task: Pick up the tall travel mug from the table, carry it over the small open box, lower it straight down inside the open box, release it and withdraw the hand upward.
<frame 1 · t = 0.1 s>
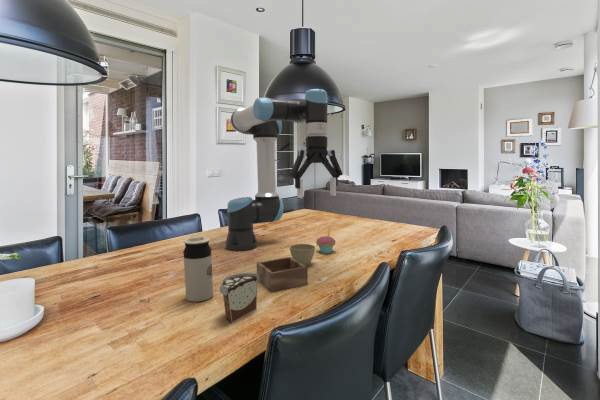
hand: (317, 196, 117), 28 cm above the table, tool pointing down, fingers open, 13 cm apart
flower pot: (302, 264, 131), on the table
cupcake: (325, 252, 147), on the table
open box: (281, 281, 112), on the table
travel mug: (199, 297, 101), on the table
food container: (236, 314, 90), on the table
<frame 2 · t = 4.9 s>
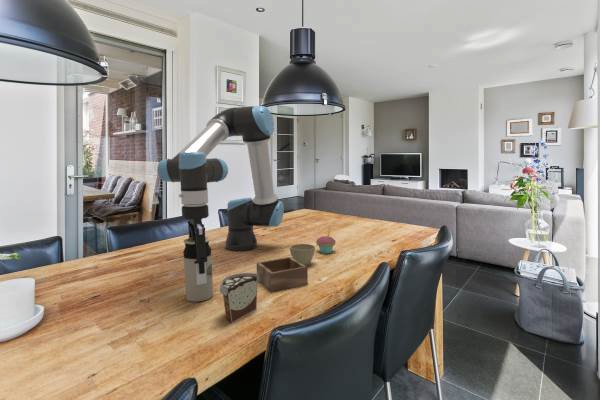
hand: (198, 278, 100), 6 cm above the table, tool pointing down, fingers closed on travel mug, 8 cm apart
travel mug: (199, 297, 101), on the table, touching gripper
everything else where it was.
when the fingers open (9 cm above the table, at t = 12.6 s): travel mug drops 2 cm, resting on open box.
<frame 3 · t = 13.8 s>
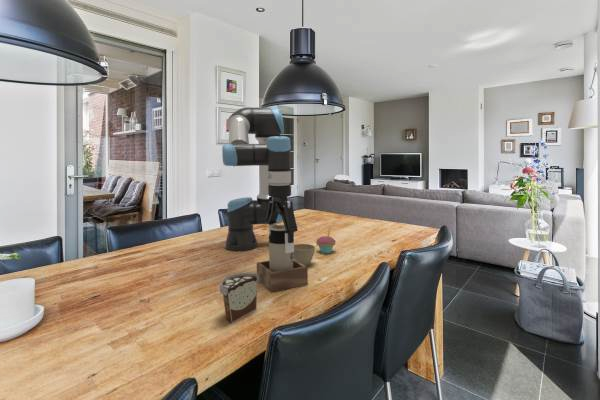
hand: (280, 247, 111), 12 cm above the table, tool pointing down, fingers open, 13 cm apart
travel mug: (281, 279, 112), point 1 cm above the table, touching open box
everything else where it was.
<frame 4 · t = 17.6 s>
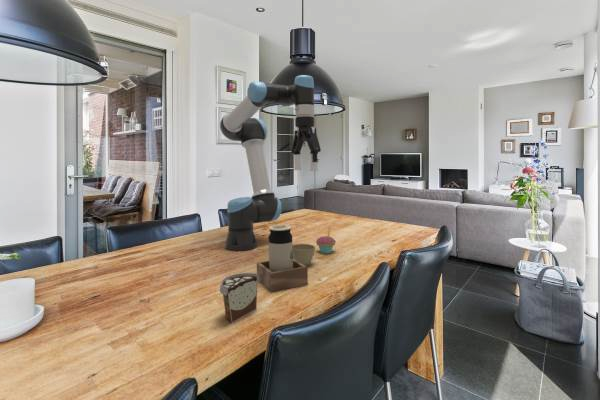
hand: (305, 170, 134), 37 cm above the table, tool pointing down, fingers open, 13 cm apart
nothing on the table moved.
at the end: travel mug inside the target area on the open box (0.1 cm from its centre), point 0.8 cm above the open box's base; travel mug tilted 0°; the gripper is holding nothing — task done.
